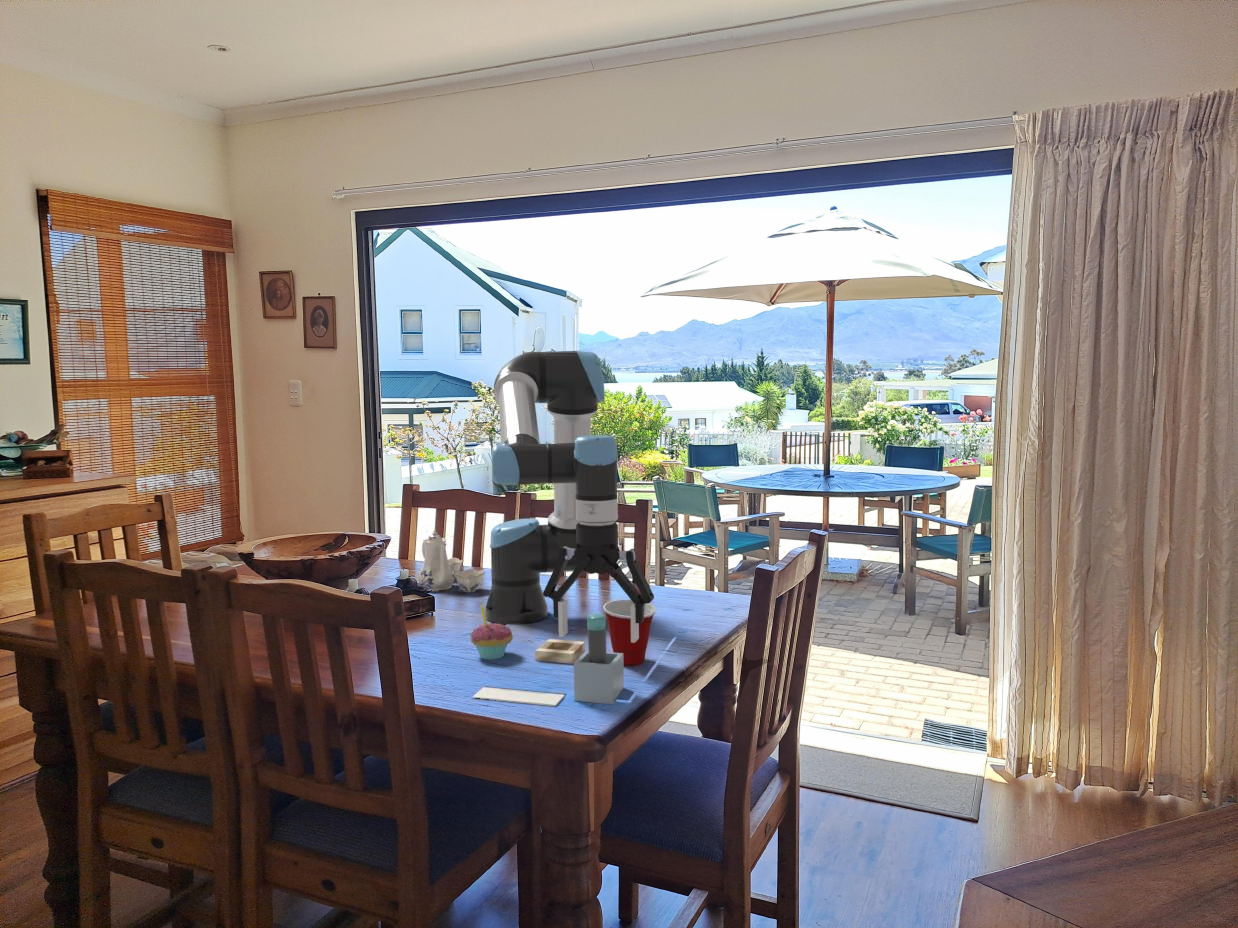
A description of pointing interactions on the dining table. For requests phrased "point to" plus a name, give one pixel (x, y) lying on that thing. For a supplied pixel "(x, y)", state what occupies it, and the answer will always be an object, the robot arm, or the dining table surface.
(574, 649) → the marker stand
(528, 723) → the dining table surface
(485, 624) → the cupcake
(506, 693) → the paper
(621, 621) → the plastic cup
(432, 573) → the chinaware
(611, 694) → the pen pot
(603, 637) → the marker
